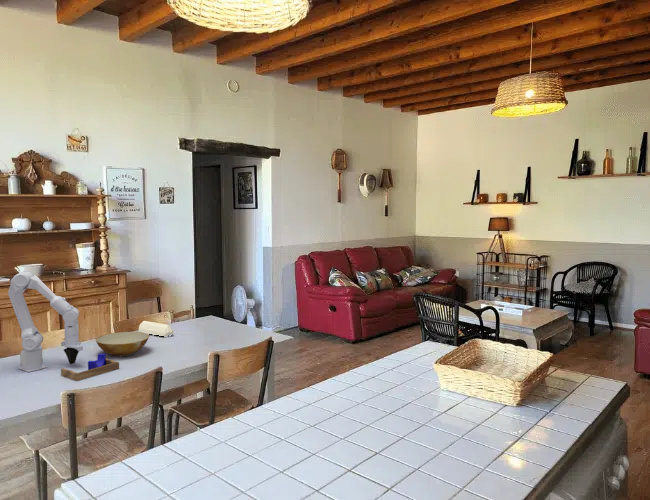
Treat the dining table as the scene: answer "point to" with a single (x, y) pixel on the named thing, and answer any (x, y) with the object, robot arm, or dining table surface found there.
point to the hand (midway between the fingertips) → (72, 363)
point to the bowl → (122, 342)
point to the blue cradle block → (97, 362)
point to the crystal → (155, 328)
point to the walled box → (90, 371)
